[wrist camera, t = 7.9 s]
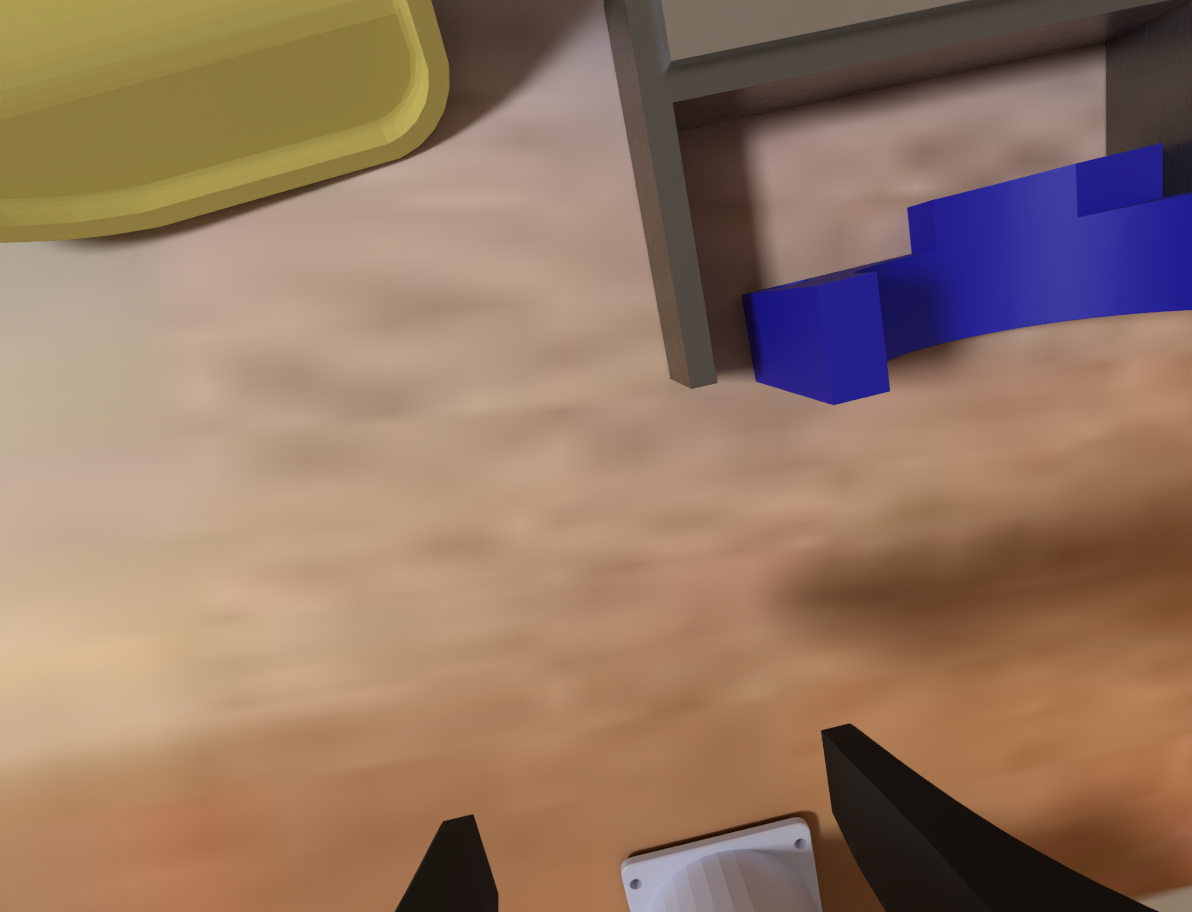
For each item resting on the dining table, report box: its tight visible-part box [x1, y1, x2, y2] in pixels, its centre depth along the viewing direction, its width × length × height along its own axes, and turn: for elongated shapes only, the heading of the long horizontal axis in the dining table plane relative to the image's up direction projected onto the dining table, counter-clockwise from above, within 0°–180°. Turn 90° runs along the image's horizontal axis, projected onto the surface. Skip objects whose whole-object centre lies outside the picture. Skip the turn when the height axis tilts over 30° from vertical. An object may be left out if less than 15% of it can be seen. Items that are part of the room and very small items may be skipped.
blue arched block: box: [742, 143, 1192, 405], centre depth 18 cm, size 12×4×6 cm, turn 103°
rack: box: [604, 0, 1192, 389], centre depth 18 cm, size 11×17×4 cm
